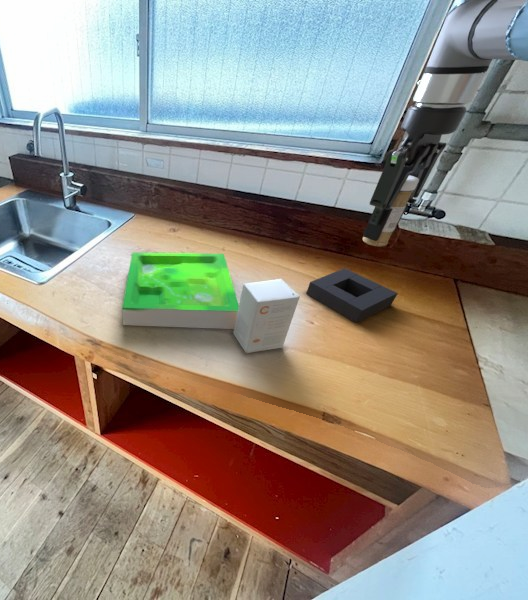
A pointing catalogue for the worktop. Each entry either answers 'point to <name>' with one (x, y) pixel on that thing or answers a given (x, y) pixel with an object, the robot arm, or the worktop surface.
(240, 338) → the small box
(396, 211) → the sprinkles bottle
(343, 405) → the worktop surface
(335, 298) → the dark grey square frame
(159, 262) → the green board game box
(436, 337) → the worktop surface
